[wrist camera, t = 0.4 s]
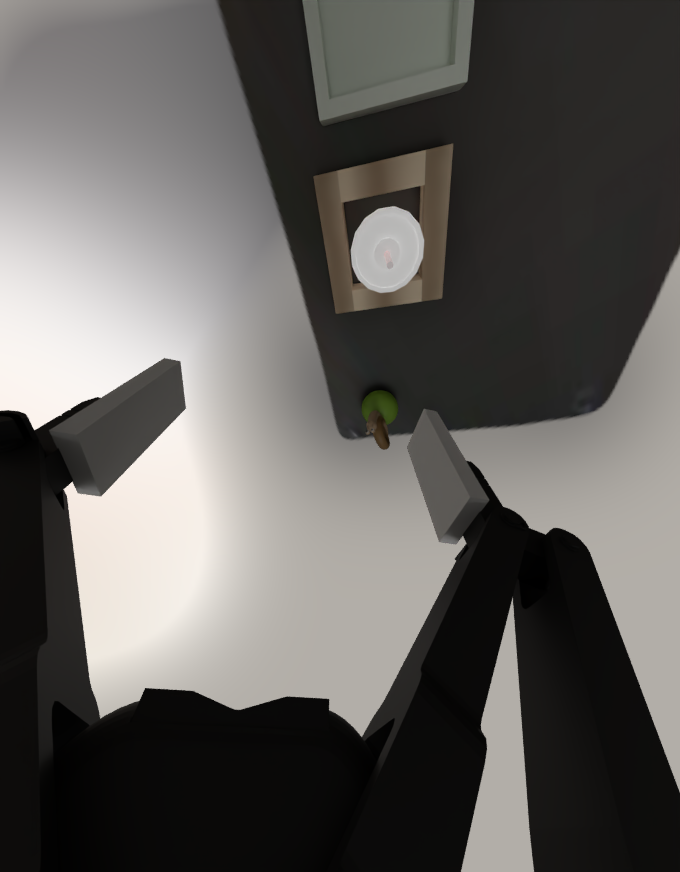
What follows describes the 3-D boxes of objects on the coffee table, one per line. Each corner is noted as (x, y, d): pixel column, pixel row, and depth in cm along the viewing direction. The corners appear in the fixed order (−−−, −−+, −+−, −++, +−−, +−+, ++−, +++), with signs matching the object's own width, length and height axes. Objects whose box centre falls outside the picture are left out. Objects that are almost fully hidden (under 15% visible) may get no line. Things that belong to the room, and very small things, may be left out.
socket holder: (445, 147, 25) (453, 143, 23) (437, 291, 33) (441, 298, 30) (318, 177, 27) (313, 176, 25) (338, 306, 35) (336, 313, 32)
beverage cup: (345, 254, 31) (332, 285, 21) (373, 189, 27) (376, 186, 17) (390, 282, 32) (400, 325, 22) (424, 224, 29) (454, 243, 18)
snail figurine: (386, 372, 40) (391, 423, 31) (401, 405, 44) (409, 459, 35) (353, 386, 42) (348, 438, 33) (370, 416, 46) (370, 470, 37)
